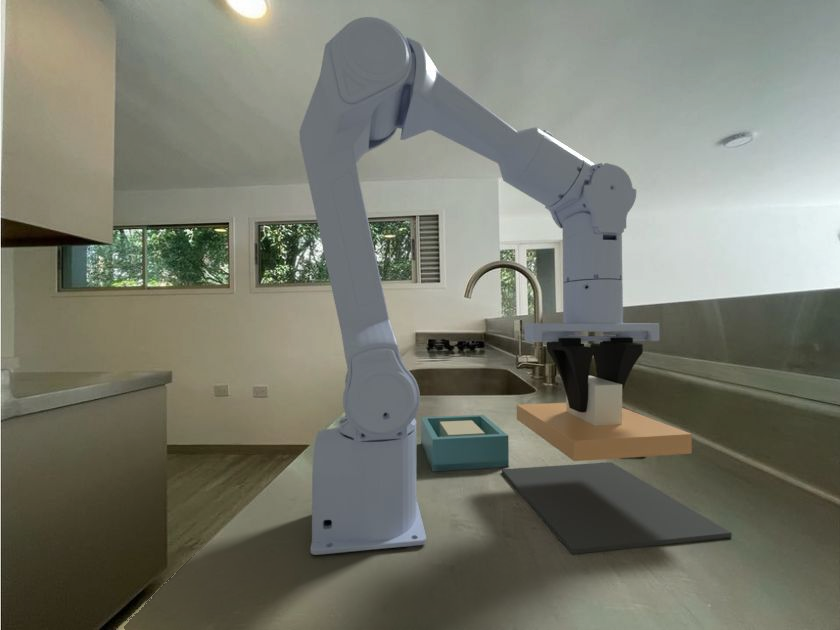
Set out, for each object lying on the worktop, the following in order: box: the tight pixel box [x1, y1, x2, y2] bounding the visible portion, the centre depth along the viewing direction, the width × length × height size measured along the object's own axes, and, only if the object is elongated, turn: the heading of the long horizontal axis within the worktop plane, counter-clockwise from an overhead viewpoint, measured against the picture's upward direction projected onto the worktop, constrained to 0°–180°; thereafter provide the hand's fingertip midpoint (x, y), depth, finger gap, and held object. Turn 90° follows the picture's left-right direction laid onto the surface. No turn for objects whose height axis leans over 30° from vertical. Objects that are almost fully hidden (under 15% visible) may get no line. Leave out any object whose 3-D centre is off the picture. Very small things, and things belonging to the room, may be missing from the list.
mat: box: [501, 461, 733, 555], centre depth 36 cm, size 15×15×1 cm
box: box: [420, 414, 510, 473], centre depth 48 cm, size 10×10×4 cm
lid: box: [516, 375, 693, 462], centre depth 36 cm, size 12×12×6 cm
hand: (593, 409), depth 36 cm, fingers closed on lid, 3 cm apart
